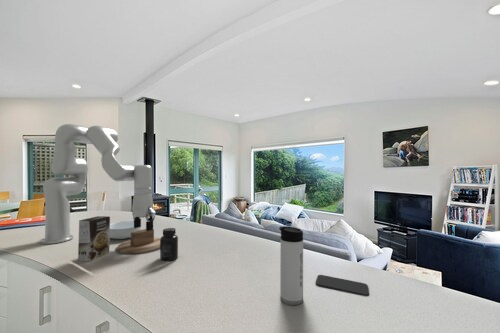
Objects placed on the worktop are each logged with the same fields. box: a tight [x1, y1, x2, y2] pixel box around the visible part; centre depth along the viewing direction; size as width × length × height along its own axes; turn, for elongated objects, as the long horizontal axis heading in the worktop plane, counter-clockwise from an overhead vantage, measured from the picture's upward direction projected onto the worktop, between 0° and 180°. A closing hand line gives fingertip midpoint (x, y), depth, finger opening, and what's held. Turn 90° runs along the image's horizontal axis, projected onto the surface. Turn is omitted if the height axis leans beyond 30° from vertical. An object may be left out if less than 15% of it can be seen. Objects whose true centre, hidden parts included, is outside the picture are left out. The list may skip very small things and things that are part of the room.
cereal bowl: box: [110, 220, 142, 240], centre depth 120 cm, size 17×17×7 cm
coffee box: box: [77, 215, 111, 262], centre depth 93 cm, size 9×6×16 cm
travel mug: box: [279, 225, 304, 306], centre depth 64 cm, size 6×7×20 cm
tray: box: [114, 246, 160, 256], centre depth 105 cm, size 22×22×1 cm
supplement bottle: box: [159, 227, 179, 263], centre depth 91 cm, size 7×7×12 cm
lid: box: [117, 228, 161, 255], centre depth 105 cm, size 20×20×7 cm
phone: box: [315, 274, 370, 297], centre depth 71 cm, size 7×1×15 cm
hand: (143, 228), depth 105 cm, fingers open, 9 cm apart
